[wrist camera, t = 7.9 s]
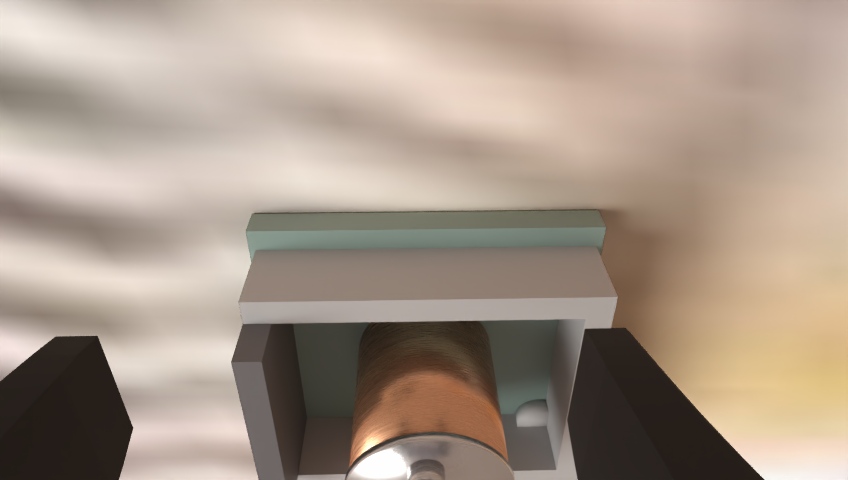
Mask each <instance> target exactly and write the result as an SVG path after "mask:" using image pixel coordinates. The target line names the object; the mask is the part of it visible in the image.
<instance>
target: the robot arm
mask: <svg viewBox="0 0 848 480" xmlns="http://www.w3.org/2000/svg"><path fill="white" fill-rule="evenodd" d="M567 423H568V429H569V434H570V440H571V446H572V452H573V458H574V463H575V469H576V474H577V479H578V480H764V479H763V478H762V477H761V476H760V475H759V474H758V473H757V472H756V471H755V470H754V469H753V468H752V467H751V466H750V465H749V464H748V463H747V462H746V461H745V460H744V459H743V458H742V457H741V455H740V454H739V453H738V452H737V451H736V450H735V449H734V448H733V447H732V446H731V445H730V444H729V443H728V442H727V441H726V440H725V439H724V438H723V436H722V435H721V434H720V433H719V432H718V431H717V430H716V429H715V428H714V427H713V426H712V425H711V424H710V423H709V422H708V421H707V419H706V418H705V417H704V416H703V415H702V414H701V413H700V412H699V411H698V410H697V409H696V407H695V406H694V405H693V404H692V403H691V402H690V401H689V400H688V399H687V397H686V396H685V395H684V394H683V393H682V392H681V391H680V390H679V388H678V387H677V386H676V385H675V384H674V383H673V382H672V380H671V379H670V378H669V377H668V376H667V375H666V374H665V372H664V371H663V370H662V369H661V368H660V367H659V366H658V364H657V363H656V362H655V361H654V360H653V359H652V357H651V356H650V355H649V354H648V353H647V352H646V350H645V349H644V348H643V347H642V346H641V345H640V343H639V342H638V341H637V340H636V339H635V338H634V337H633V335H632V334H631V333H630V332H629V331H628V330H627V329H626V328H592V329H585V330H584V335H583V341H582V346H581V351H580V356H579V361H578V366H577V372H576V377H575V382H574V387H573V392H572V397H571V403H570V408H569V413H568V418H567ZM132 430H133V426H132V424H131V421H130V419H129V416H128V414H127V411H126V408H125V406H124V403H123V401H122V398H121V395H120V393H119V390H118V388H117V385H116V383H115V380H114V377H113V375H112V372H111V370H110V367H109V364H108V362H107V359H106V357H105V354H104V352H103V349H102V346H101V344H100V341H99V339H98V336H64V337H55V338H53V339H52V340H51V341H49V342H48V343H47V344H46V345H44V346H43V347H42V348H40V349H39V350H38V351H37V352H35V353H34V354H33V355H32V356H30V357H29V358H28V359H27V360H26V361H24V362H23V363H22V364H21V365H20V366H18V367H17V368H16V369H15V370H13V371H12V372H11V373H10V374H9V375H7V376H6V377H5V378H4V379H3V380H2V381H0V480H119V477H120V474H121V471H122V467H123V464H124V460H125V457H126V453H127V449H128V445H129V442H130V438H131V434H132Z"/></svg>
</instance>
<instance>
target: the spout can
mask: <svg viewBox="0 0 848 480" xmlns="http://www.w3.org/2000/svg"><path fill="white" fill-rule="evenodd" d="M345 480H515V477H514V473H513V470H512V467H511V466H510V464H509V462H508V455H507V449H506V442H505V436H504V430H503V423H502V417H501V410H500V404H499V398H498V391H497V385H496V378H495V372H494V365H493V359H492V353H491V346H490V340H489V337H488V334H487V332H486V330H485V328H484V327H483V325H482V324H481V323H480V322H479V321H419V322H371V323H370V324H369V325H368V326H367V328H366V329H365V331H364V332H363V335H362V337H361V340H360V344H359V354H358V366H357V378H356V390H355V402H354V414H353V426H352V438H351V450H350V462H349V469H348V471H347V473H346V476H345Z"/></svg>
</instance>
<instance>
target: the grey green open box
mask: <svg viewBox="0 0 848 480" xmlns="http://www.w3.org/2000/svg"><path fill="white" fill-rule="evenodd" d="M605 231H606V226H605V224H604V222H603V219H602V217H601V215H600V213H599V211H598V210H556V211H466V212H376V213H286V214H252V216H251V218H250V221H249V224H248V226H247V229H246V236H247V241H248V247H249V252H250V258H251V266H250V269H249V272H248V275H247V278H246V281H245V284H244V287H243V290H242V293H241V296H240V299H239V302H238V303H239V308H240V312H241V317H242V322H243V326H242V329H241V332H240V335H239V339H238V342H237V345H236V348H235V352H234V355H233V358H232V361H231V363H232V368H233V372H234V376H235V381H236V385H237V389H238V393H239V398H240V402H241V406H242V410H243V415H244V419H245V423H246V427H247V432H248V436H249V440H250V444H251V449H252V453H253V457H254V462H255V466H256V470H257V474H258V479H259V480H345V476H346V473H347V471H348V469H349V462H350V450H351V438H352V426H353V414H354V402H355V390H356V378H357V366H358V354H359V344H360V340H361V337H362V335H363V332H364V331H365V329H366V328H367V326H368V325H369V324H370V323H371V322H419V321H479V322H480V323H481V324H482V325H483V327H484V328H485V330H486V332H487V334H488V337H489V340H490V346H491V353H492V359H493V365H494V372H495V378H496V385H497V391H498V398H499V404H500V410H501V417H502V423H503V430H504V436H505V442H506V449H507V455H508V462H509V464H510V466H511V467H512V470H513V473H514V477H515V480H577V474H576V469H575V463H574V458H573V452H572V446H571V440H570V434H569V429H568V423H567V418H568V413H569V408H570V403H571V397H572V392H573V387H574V382H575V377H576V372H577V366H578V361H579V356H580V351H581V346H582V341H583V335H584V330H585V329H592V328H611V326H612V322H613V317H614V313H615V308H616V304H617V300H618V296H617V294H616V291H615V289H614V287H613V284H612V282H611V279H610V277H609V275H608V272H607V270H606V268H605V265H604V263H603V261H602V258H601V251H602V246H603V241H604V236H605Z"/></svg>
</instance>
